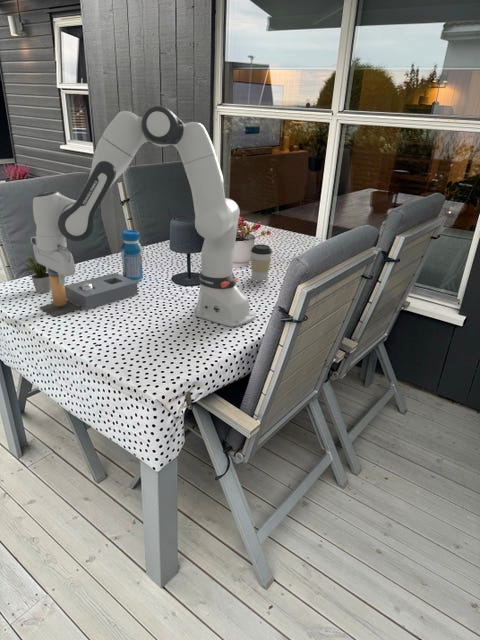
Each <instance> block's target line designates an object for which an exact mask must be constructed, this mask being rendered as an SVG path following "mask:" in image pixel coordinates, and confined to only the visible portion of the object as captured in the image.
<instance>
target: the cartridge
mask: <svg viewBox="0 0 480 640" xmlns="http://www.w3.org/2000/svg"><path fill="white" fill-rule="evenodd" d="M47 273H48V274H49V277H50V284H51V291H50V292H51V298H52V303H53V305H55V306H63V305H66V304H67V300H68V299H66V292H65V286H66V284H62V285H60V284H59V283H58V280H57V279H59V275H58V273H57V272H55V271H53V270H49V271H48V272H47Z"/></svg>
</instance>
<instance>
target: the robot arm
mask: <svg viewBox="0 0 480 640" xmlns="http://www.w3.org/2000/svg"><path fill="white" fill-rule="evenodd" d="M145 143H148V144H152V145H154V146H156V147H160V148H169V147H171V146H173V147H175V149H176V150H177V151H178V153H179V156H180V159H181V162H182V165H183V167H184V172H185V174H186V176H187V177H186V178H187V180H188V184H189V186H190V190H191V195H192V201H193V202H192V203H193V209H194V217H195V218H194V227H195V228H194V229H195V230H196V232H197V234H198V235H199V236H201V237H202V238H204V239H203V240H204V241H203V243H202V248H201V253H200V254H201V255H200V256H201V258H200V259H201V260H200V261H201V262H200V272H199V283H200V285H199V287H200V288H199V292H198V299H197V304H196V306H195V311H196V312H195V317H198V318H200V319H203V320H207V321H210V322H214V323H217V324H221V325H223V326H226V327H229V328H230V327H239V325H240V326H242V324H243V325H246V324H247V323H251V322H252V321H253V320H254V319H256V315H257V314H256V312H254V311H253V310H250V301H249V299H248V297H247V296H246V294H244V293H243V292H242V291H241V290H240V288H239V287H238V286H237V283H236V282H238V281H239V277H237V278H235V274H234V272H233V269H234V268H233V267H234V266H233V265H234V251H235V245H236V240H237V239H236V238H237V233H238V227H239V219H240V214H241V211H240V207H239V205H238V203H237V202H236V201H234V200H233V199H232V198H227V197H226V196H225V188H224V187H225V186H224V176H223V172H222V169H221V165H220V162H219V159H218V155H217V153H216V151H215V147H214V145H213V141H212V140H211V137H210V135H209V133H208V131H207V129H206V128H205V126H204V125H203V124H202V123H201V122H197V121H189V122H185V123H184V122H183V121H182V120H181V119H180V118H179V117H178V116H177V115H176V114H175V113H174V112H173V111H172V110H171V109H169V108H167V107H166V106H163V105H153V106H150V107H149V108H148V109H146V111H144V113H143V115H142V116H138V115H137V114H136V113H133V112H132V111H128V110H122V111H119V112H118V113H117V114H116V115H115V116H114V118H113V119H112V120H111V122H110V123H109V124H108V125H107V127H106V128H105V130H104V132H103V133H102V135H101V136H100V138H99V140H98V143H97V145H96V147H95V150H94V154H93V157H92V163H91V167H90V172H89V176H88V178H87V181H86V183H85V185H84V186H83V188H82V190H81V192H80V194H79V196H78V198H77V199H76V200H75V199H72V198H69V197H67V196H65V195H63V194H61V193H60V192H59V191H57V190H45V191H41V192H39V193H37V194H36V195H35V196H34V197H33V199H32V213H33V220H34V224H35V225H36V231H35V234H36V236H31V237H30V243H31V244H32V249H33V254H34V258H35V259H34V260H36V261H37V263H39V264H41V265H43V266H45V267H46V270H47V273H48V271H49V270H53V271H55V272H57V273H58V275H59V279H57V280H58V283H59V284H60V285H62V284H65V283H66V281H65V280H66V277H71V276H74V275H75V274H76V267H75V261H74V257H73V254H72V253H71V252H70V251H69V248H67V247H68V245H67V240H69V241H72V242H82V241H85V240H86V239H88V238H89V237H91V235H92V232H93V230H94V218H95V214H96V212H97V210H98V209H99V207H100V206H101V204H102V202H103V200H104V198H105V196H106V194H107V192H108V191H109V189H110V188H111V186H113V184H114V183H115V182H116V181H117V180H118V179H119V178H120V176H121V175H122V174H123V173H124V172H125V171H126V170H127V168H129V166H130V164H131V162H132V160H133V159H134V158H135V156H136V154H137V153H138V150H139V149H140V148H141V146H142V145H143V144H145ZM36 261H35V262H36ZM37 263H36V264H37ZM49 279H50V277H49ZM65 285H66V284H65ZM245 323H246V324H245Z"/></svg>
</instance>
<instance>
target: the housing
mask: <svg viewBox="0 0 480 640" xmlns="http://www.w3.org/2000/svg"><path fill="white" fill-rule="evenodd" d="M83 283H92V289H91V290H88V291H84V290H82V284H83ZM138 290H139V289H138V281H137V282H135V281H133V280H131V279H129V278H126V277H124V276H123V274H122V275H121V274H119V273H117V272H114V273H110V274H106V275H102V276H98V277H94V278H90V279H86V280H82V281H79V282H74V283H70V284H65V292H66V300H68V301H70V302H71V303H73V304H75V305H77V306H79V307H80V308H81V309H84V310H86V311H88V310H89V311H90V310H92V309H95V308H98V307H101V306H105V305H108V304H112V303H114V302H117V301H121V300H124V299H127V298H130V297H134V296H137V295H139V291H138Z"/></svg>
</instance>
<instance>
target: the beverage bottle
mask: <svg viewBox="0 0 480 640" xmlns="http://www.w3.org/2000/svg"><path fill="white" fill-rule="evenodd" d="M121 233H122V234H121V235H122V236H121V237H122V240H123V243H122V245H121V247H120V250H121V254H120V257H121V260H122V261H121V262H122V263H121V264H122V276H124V277H126V278H129V279H131V280H133V281H135V282H137V283H138V282H140V281H142V280H143V278H144V275H143V252H142V250H143V247H142V245H141V243H140V242H139V241H140V238H141V237H140V232H139V231H138V230H136V229H127V230H123V231H122V232H121Z"/></svg>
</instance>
